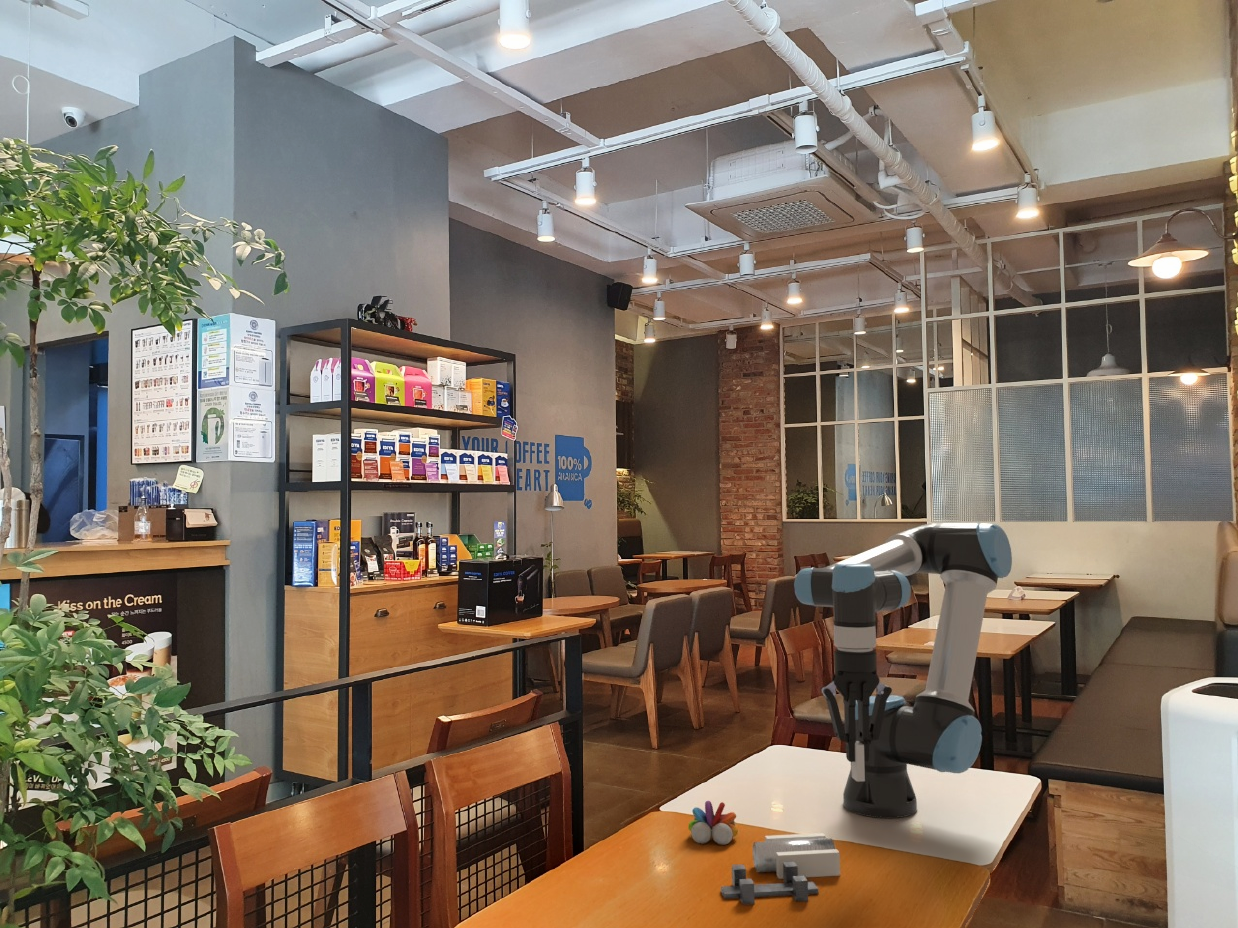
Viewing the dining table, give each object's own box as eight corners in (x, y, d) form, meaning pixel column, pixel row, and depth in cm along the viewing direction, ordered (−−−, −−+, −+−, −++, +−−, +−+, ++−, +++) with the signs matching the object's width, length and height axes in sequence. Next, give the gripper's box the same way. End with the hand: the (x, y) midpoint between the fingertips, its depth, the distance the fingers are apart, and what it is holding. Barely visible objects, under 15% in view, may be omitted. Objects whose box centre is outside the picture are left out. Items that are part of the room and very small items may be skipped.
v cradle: (808, 880, 159) (808, 860, 159) (823, 899, 151) (822, 879, 151) (718, 885, 158) (717, 865, 158) (727, 905, 150) (727, 884, 150)
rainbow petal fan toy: (736, 848, 174) (735, 809, 175) (685, 845, 176) (685, 807, 177) (739, 832, 183) (738, 795, 183) (691, 829, 185) (690, 793, 185)
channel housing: (823, 854, 170) (822, 832, 170) (840, 875, 161) (839, 852, 161) (765, 857, 169) (764, 835, 169) (778, 878, 160) (778, 855, 160)
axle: (827, 857, 168) (828, 832, 167) (836, 873, 163) (837, 848, 162) (752, 861, 167) (753, 836, 166) (758, 878, 162) (759, 852, 161)
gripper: (881, 644, 172) (885, 771, 171) (814, 646, 171) (817, 774, 170) (897, 650, 164) (901, 783, 163) (826, 652, 163) (829, 786, 162)
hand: (858, 778), depth 166 cm, fingers closed
